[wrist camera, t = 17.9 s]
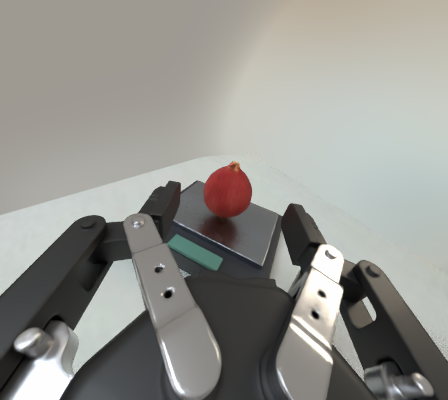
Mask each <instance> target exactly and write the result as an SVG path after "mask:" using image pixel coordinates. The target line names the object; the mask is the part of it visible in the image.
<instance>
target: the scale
mask: <svg viewBox="0 0 448 400" xmlns="http://www.w3.org/2000/svg"><path fill="white" fill-rule="evenodd" d="M204 186H205V183H203V182H201V181H195V182H194V183H193V184H191V185H190V186H188V187H187V188H186V189H184V190H183V191H182V192H180V205H179V208H178V211H177V213H176V215H175V218H174V220H173V222H172V225H171V227H170V229H169V232H168V234H167V236H166V239H165V241H164V242H166V243H167V245H168V247H169V249H170V251H171V253H172V255H173V257H174V259H175V261H176V264H177V266H178V267H179V268H181V269H182V270H184V271H186V272H187V273H189V274H191V275H196V274H199V272H200V268H201V269H208V270H215V271H220V272H222V273H225V274H227V275H229V276H232V277H234V278H237V279H243V278H252V277H261V278H268V279H269V275H270V271H271V268H272V264H273V260H274V256H275V252H276V248H277V244H278V240H279V236H280V232H281V219H282V217H283V216H280V215H279V214H277V213H275V212H272V211H270V210H267V209H265V208H263V207H260V206H258V205H256V204H253V203H251V202H250V205H249V206H248V208H247V209H246V210H245V211H244V212H242V213H241V214H239V215H238V216H235V217H230V218H220V217H219V216H216V215H215V214H214V213H212V212H211V211H210V210H209V209H208V208H207V206H206V204H205V202H204V194H203V190H204Z"/></svg>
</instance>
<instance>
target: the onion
mask: <svg viewBox="0 0 448 400" xmlns="http://www.w3.org/2000/svg"><path fill="white" fill-rule="evenodd" d="M203 194H204V202H205V204H206V206H207V208H208V209H209V210H210V211H211V212H212V213H214V214H215V215H216V216H219V217H220V218H230V217H235V216H238V215H239V214H241V213H242V212H244V211H245V210H246V209H247V208H248V206H249V205H250V201H251V196H252V187H251V184H250V182H249V179H248V177H247V176H246V174H245V173H244V172H243V171H242V170H241V169H240V166H239V163H238V162H236V161H233V162H232V163H230V165H228V166H225V167H222V168H220V169H218V170H216V171H215V172H214V173H212V174H211V175H210V177H209V178H208V180H207V181H206V183H205V186H204V190H203Z"/></svg>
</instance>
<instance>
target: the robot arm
mask: <svg viewBox="0 0 448 400" xmlns="http://www.w3.org/2000/svg"><path fill="white" fill-rule="evenodd" d="M180 192H181V183H180V182H174V181H169V182H168V183H167V185H166V187H162V186H160V187H158V188H157V189H155V190H154V191H153V193H152V194H151V196H150V197H149V199H148V200H147V201H146V203H145V204H144V205H143V207H142V208H141V210H140V211H139V212H138V213H137V214H133V215H131V216H129V217H127V218H126V219H125V221H122V222H109V223H106V221H105V219H104V218H103V217H101V216H97V215H91V216H86V217H83V218H80V219H78V220H77V221H75V222H74V223H73V224H72V225H71V226H70V227H69V228H68V229H67V230H66V231H65V232H64V233H63V234H62V235H61V236H60V237H59V238H58V239H57V240H56V241H55V242H54V243H53V244H52V245H51V246H50V247H49V248H48V249H47V250H46V251H45V252H44V253H43V254H42V255H41V256H40V257H39V258H38V259H37V260H36V261H35V262H34V263H33V264H32V265H31V266H30V267H29V268H28V269H27V270H26V271H25V272H24V273H23V274H22V275H21V276H20V277H19V278H18V279H17V280H16V281H15V282H14V283H13V284H12V285H11V286H10V287H9V288H8V289H7V290H6V291H5V292H4V293H3V294H2V295H1V296H0V400H448V361H447V360H446V359H445V357H444V356H443V354H442V353H441V352H440V350H439V349H438V347H437V346H436V345H435V343H434V342H433V340H432V339H431V338H430V336H429V335H428V333H427V332H426V331H425V329H424V328H423V326H422V325H421V324H420V322H419V321H418V319H417V318H416V317H415V315H414V314H413V312H412V311H411V310H410V308H409V307H408V305H407V304H406V303H405V301H404V300H403V298H402V297H401V296H400V294H399V293H398V291H397V290H396V289H395V287H394V286H393V284H392V283H391V282H390V280H389V279H388V277H387V276H386V275H385V273H384V272H383V271H382V270H381V269H380V268H379V267H378V266H376V265H375V264H373V263H371V262H369V261H366V260H361V261H360V262H358V263H357V264H354V263H352V262H349V261H347V260H345V259H344V258H343V256H342V254H341V253H340V252H339V251H338V250H337V249H335V248H334V247H332V246H330V245H327V243H326V241H325V240H324V238H323V236H322V234H321V232H320V231H319V230H318V227H317V225H316V223H315V222H314V220H313V218H312V217H311V216H310V215H309V214H308V213H306V212H305V210H304V208H303V206H302V205H298V204H292V203H291V204H289V206H288V208H287V210H286V212H285V213H284V215H283V217H282V219H281V229H282V232H283V235H284V238H285V241H286V245H287V248H288V251H289V254H290V258H291V261H292V264H293V265H297V266H300V267H301V269H300V270H299V272H298V274H297V276H296V278H295V279H294V281H293V283H292V285H291V287H290V289H289V291H288V293H287V292H285V291H284V290H282V289H281V288H279V287H277V286H276V283H275V280H274V279H268V278H261V277H252V278H243V279H237V278H234V277H232V276H229V275H227V274H225V273H222V272H220V271H215V270H208V269H201V268H200V272H199V274H196V275H191V276H188V277H186V278H183V276H182V274H181V272H180V270H179V268H178V266H177V264H176V261H175V259H174V257H173V255H172V253H171V251H170V249H169V247H168V245H167V243H166V242H164V241H165V239H166V236H167V234H168V232H169V229H170V227H171V225H172V222H173V220H174V218H175V215H176V213H177V211H178V208H179V205H180ZM125 259H132V263H133V266H134V270H135V273H136V277H137V280H138V284H139V287H140V291H141V295H142V299H143V302H144V306H145V309H146V310H145V311H144V312H143V313H141V314H140V315H139V316H138V317H137V318H136V319H135V320H133V321H132V322H131V323H130V324H129V325H128V326H127V327H125V328H124V329H123V330H122V331H121V332H120V333H119V334H117V335H116V336H115V337H114V338H113V339H112V340H111V341H109V342H108V343H107V344H106V345H105V346H104V347H103V348H101V349H100V350H99V351H98V352H97V353H96V354H95V355H93V356H92V357H91V358H90V359H89V360H88V361H87V362H86V363H85V364H84V365H83V366H82V367H81V368H80V369H79V370H78V372H77V373H76V374H75V375H74V373H73V368H72V366H73V360H74V357H75V354H76V352H77V349H78V345H79V340H78V336H77V335H76V333H75V332H73V330H74V329H75V327H76V325H77V324H78V322H79V320H80V318H81V317H82V315H83V313H84V312H85V310H86V308H87V306H88V305H89V303H90V301H91V299H92V298H93V296H94V294H95V293H96V291H97V289H98V287H99V286H100V284H101V282H102V281H103V279H104V277H105V275H106V274H107V272H108V270H109V268H110V267H111V265H112V263H113V262H114V261H118V260H125ZM365 297H368V299H369V300H370V302H371V304H372V306H373V308H374V309H375V312H376V320H375V321H373V320H372V318H371V316H370V314H369V312H368V310H367V309H366V307H365V305H364V303H363V301H362V299H364V298H365ZM339 310H340V313H341V315H342V318H343V320H344V323H345V325H346V327H347V330H348V332H349V335H350V337H351V340H352V342H353V345H354V347H355V350H356V352H357V355H358V357H359V360H360V362H361V365H362V367H363V370H364V381H365V383H364V382H363V380H362V379H361V378H360V377H359V376H358V374H357V373H356V372H355V371H354V370H353V368H352V367H351V366H350V365H349V364H348V362H347V361H346V360H345V359H344V358H343V357H342V355H341V354H340V353H339V352H338V351H337V349H336V348H335V347H334V346H333V345H332V342H333V337H334V332H335V327H336V323H337V318H338V313H339Z"/></svg>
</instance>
